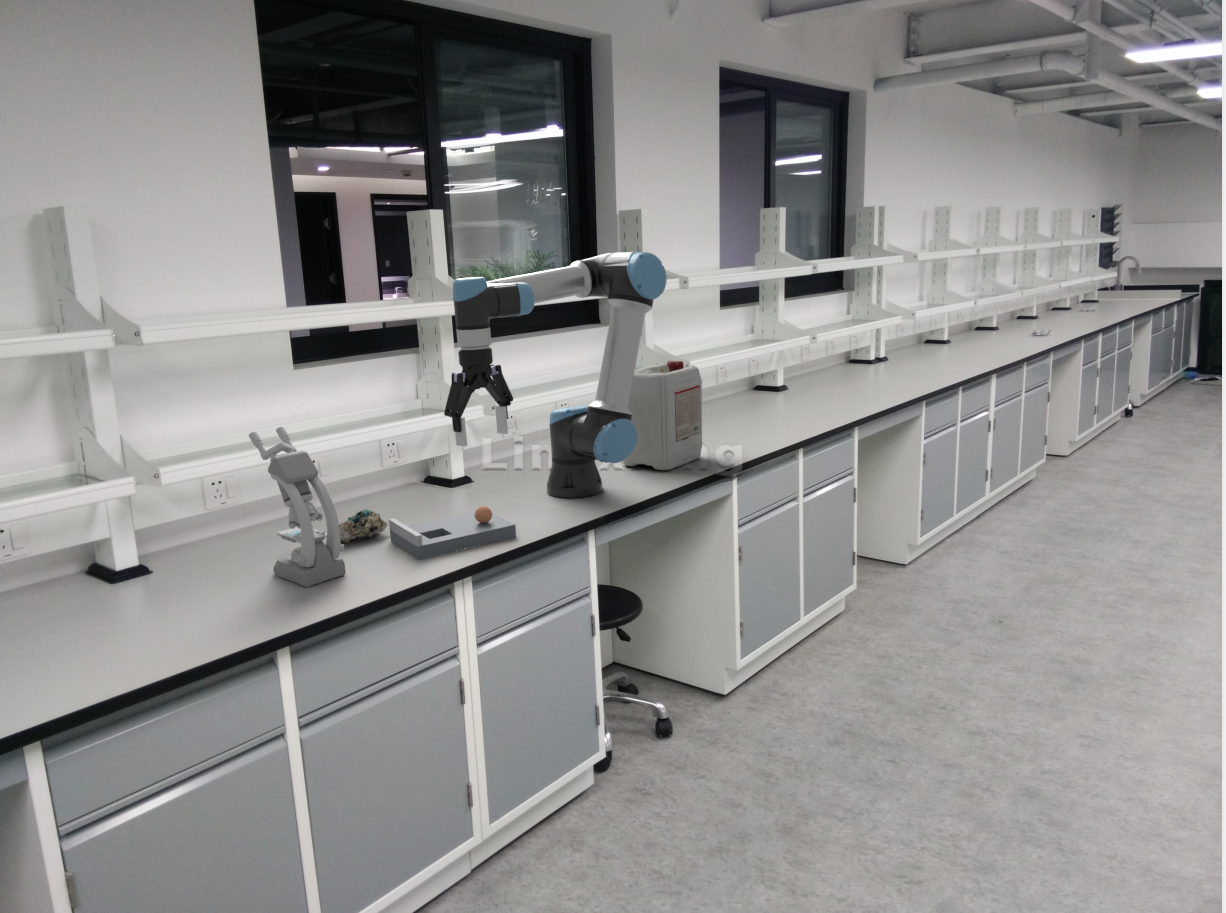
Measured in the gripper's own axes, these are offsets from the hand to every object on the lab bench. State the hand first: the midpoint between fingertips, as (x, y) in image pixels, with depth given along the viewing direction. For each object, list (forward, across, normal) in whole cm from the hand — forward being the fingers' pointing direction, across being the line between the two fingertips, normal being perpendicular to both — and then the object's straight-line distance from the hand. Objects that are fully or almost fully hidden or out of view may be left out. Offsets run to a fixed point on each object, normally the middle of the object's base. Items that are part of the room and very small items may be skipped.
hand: (482, 439), depth 207 cm
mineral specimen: (+22, +20, -23) cm, 38 cm away
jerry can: (+24, -77, -1) cm, 81 cm away
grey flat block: (+22, +9, -3) cm, 24 cm away
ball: (+17, +3, +1) cm, 18 cm away
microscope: (+22, +41, -15) cm, 49 cm away
